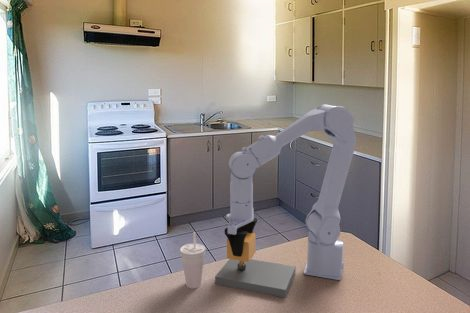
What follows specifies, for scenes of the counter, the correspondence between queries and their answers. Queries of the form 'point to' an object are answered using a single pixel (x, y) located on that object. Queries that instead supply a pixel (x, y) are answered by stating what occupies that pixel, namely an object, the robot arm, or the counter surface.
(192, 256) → the smoothie
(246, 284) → the flat grey tile
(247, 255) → the amber cube
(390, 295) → the counter surface
